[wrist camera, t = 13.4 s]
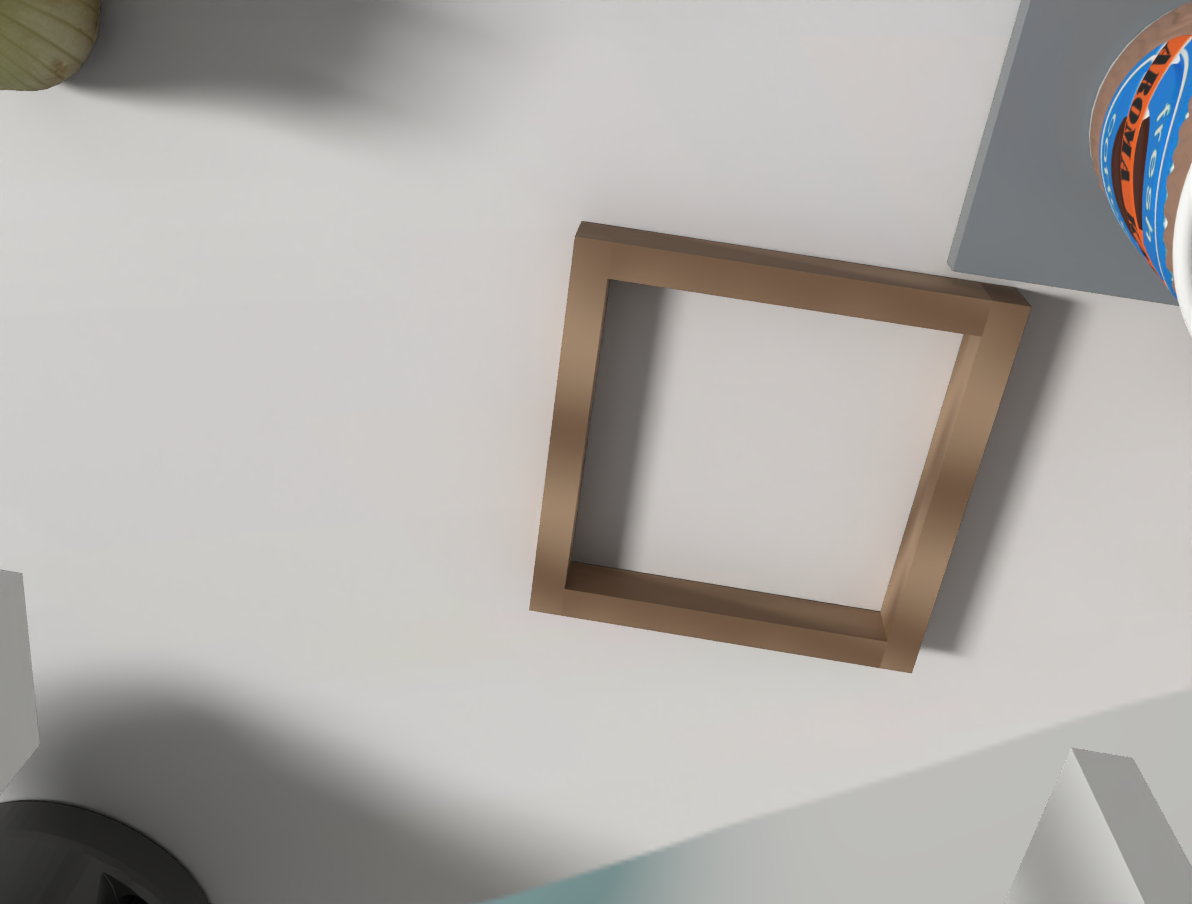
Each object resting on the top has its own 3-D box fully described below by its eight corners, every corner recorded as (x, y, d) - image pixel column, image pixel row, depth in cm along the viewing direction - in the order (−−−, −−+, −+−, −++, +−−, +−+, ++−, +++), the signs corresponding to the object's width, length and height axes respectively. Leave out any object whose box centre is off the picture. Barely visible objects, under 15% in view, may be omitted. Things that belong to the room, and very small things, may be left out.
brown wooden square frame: (903, 642, 44) (911, 673, 42) (536, 581, 44) (529, 610, 42) (1016, 287, 37) (1031, 307, 35) (581, 221, 37) (574, 236, 36)
